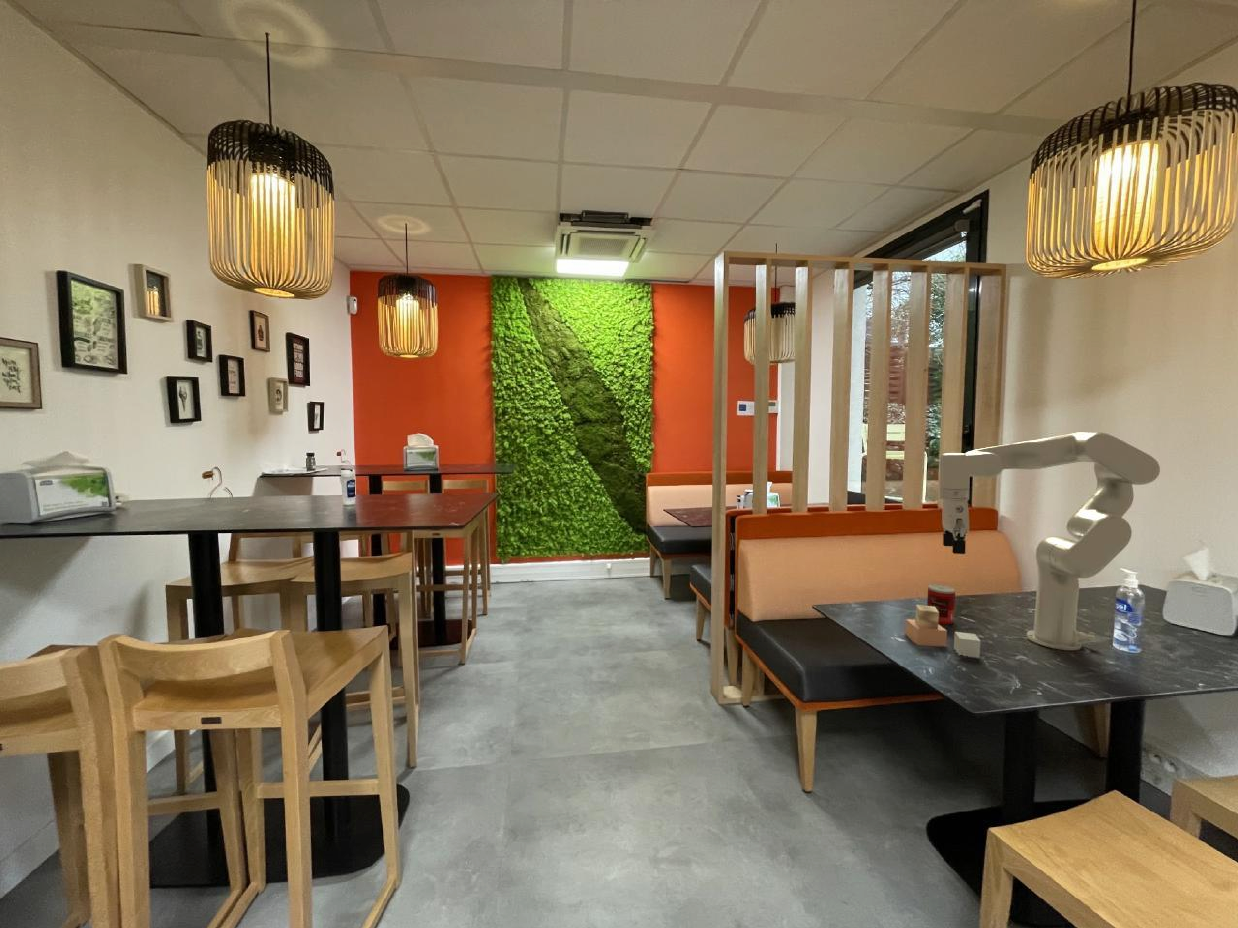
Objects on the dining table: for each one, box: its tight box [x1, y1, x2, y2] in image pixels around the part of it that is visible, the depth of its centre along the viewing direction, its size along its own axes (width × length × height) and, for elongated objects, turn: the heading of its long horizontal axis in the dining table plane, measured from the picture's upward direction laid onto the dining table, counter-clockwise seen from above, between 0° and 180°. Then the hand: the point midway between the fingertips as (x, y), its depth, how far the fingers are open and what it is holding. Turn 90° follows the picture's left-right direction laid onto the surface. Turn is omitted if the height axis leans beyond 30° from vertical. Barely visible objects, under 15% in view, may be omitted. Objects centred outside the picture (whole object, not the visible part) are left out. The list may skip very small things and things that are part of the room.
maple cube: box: [914, 604, 939, 629], centre depth 158 cm, size 5×5×5 cm
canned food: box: [926, 583, 956, 625], centre depth 174 cm, size 8×8×11 cm
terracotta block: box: [904, 618, 948, 648], centre depth 158 cm, size 8×8×5 cm
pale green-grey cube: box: [953, 631, 981, 659], centre depth 149 cm, size 5×5×5 cm
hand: (953, 549), depth 160 cm, fingers open, 9 cm apart
